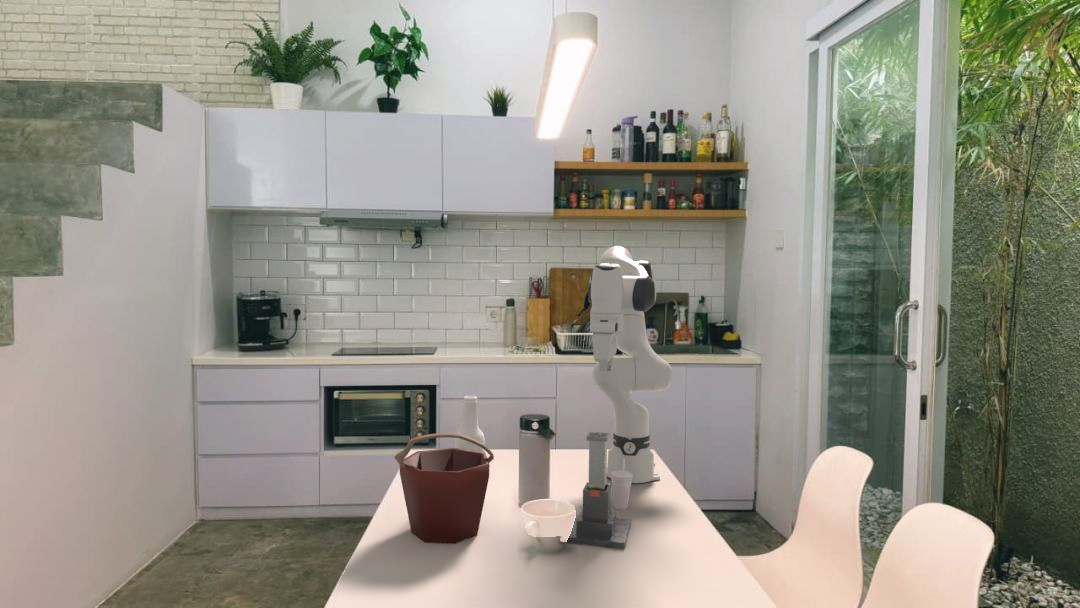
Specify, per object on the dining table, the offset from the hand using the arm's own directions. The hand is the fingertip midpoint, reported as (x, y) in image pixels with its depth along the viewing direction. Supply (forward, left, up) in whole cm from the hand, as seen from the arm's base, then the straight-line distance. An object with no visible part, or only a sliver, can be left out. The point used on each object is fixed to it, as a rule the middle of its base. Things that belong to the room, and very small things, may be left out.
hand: (605, 374), depth 185 cm
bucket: (+20, -38, -39) cm, 58 cm away
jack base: (+12, 0, -39) cm, 41 cm away
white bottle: (-5, -40, -39) cm, 56 cm away
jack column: (+12, 0, -32) cm, 34 cm away
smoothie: (-9, +4, -39) cm, 41 cm away
